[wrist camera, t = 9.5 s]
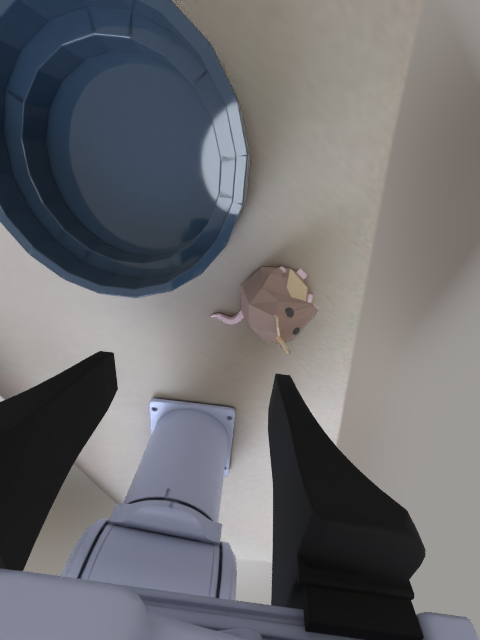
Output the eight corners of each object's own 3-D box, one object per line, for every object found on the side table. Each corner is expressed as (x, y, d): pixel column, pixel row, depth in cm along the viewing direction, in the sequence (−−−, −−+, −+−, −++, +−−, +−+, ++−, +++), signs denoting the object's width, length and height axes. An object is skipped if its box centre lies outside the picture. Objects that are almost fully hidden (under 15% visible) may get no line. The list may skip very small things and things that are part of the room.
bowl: (238, 284, 22) (233, 309, 18) (50, 263, 22) (3, 283, 18) (263, 29, 15) (264, -21, 11) (-3, 2, 16) (-93, -56, 12)
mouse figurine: (196, 287, 22) (172, 330, 16) (300, 251, 20) (316, 284, 14) (222, 343, 24) (210, 399, 18) (318, 314, 23) (339, 366, 17)
